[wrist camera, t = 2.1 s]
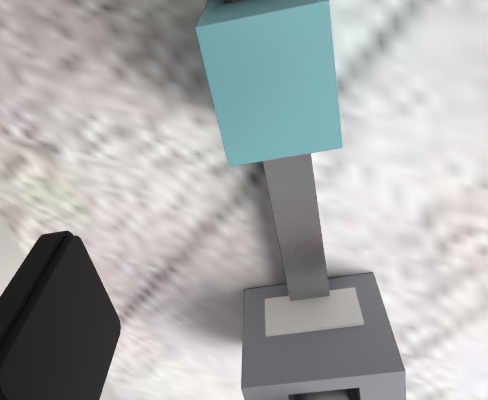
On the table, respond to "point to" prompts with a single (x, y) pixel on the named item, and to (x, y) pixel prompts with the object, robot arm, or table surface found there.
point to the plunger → (326, 395)
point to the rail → (297, 224)
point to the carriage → (271, 77)
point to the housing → (320, 343)
